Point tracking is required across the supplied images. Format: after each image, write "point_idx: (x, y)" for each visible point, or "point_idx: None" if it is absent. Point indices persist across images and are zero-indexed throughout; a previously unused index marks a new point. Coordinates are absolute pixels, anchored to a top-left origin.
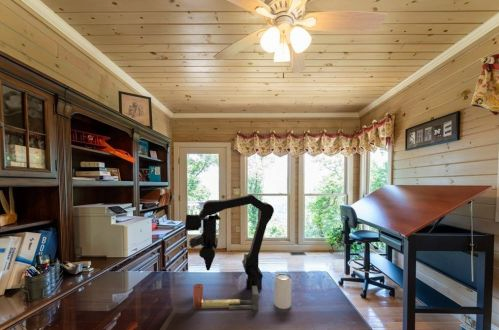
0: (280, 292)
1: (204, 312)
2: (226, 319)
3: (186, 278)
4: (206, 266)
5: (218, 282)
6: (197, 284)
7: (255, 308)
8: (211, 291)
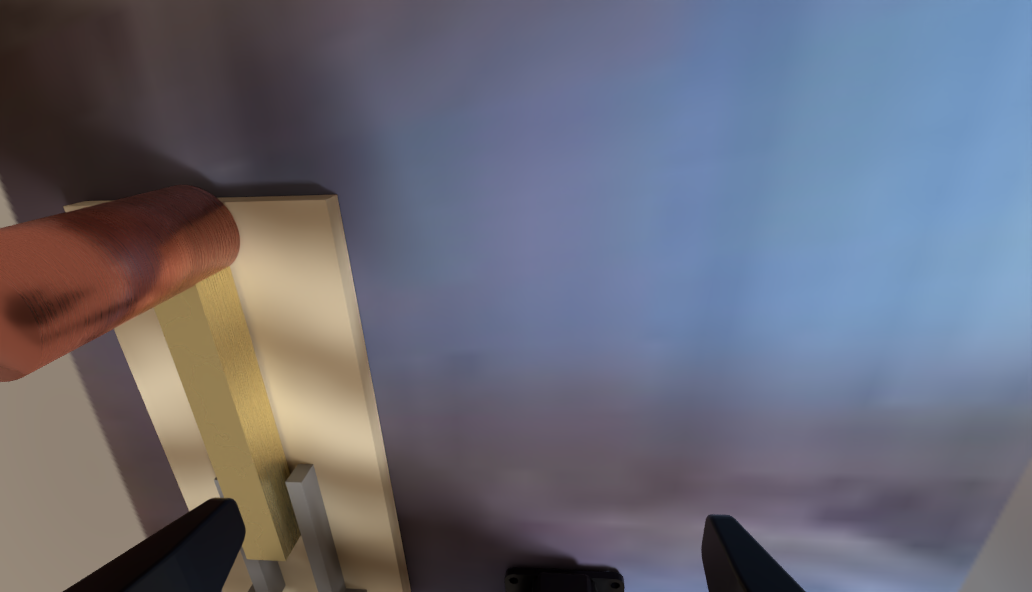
0: None
1: None
2: None
3: None
4: (107, 577)
5: (763, 358)
6: (4, 302)
7: None
8: (562, 304)
